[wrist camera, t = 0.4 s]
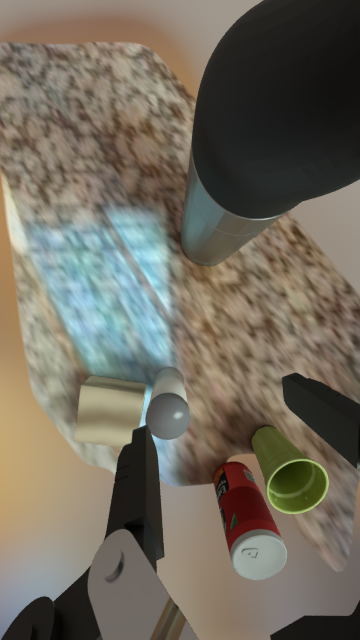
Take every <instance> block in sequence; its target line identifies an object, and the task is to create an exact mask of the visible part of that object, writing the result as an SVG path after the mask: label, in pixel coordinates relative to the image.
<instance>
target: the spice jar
mask: <svg viewBox="0 0 360 640" xmlns="http://www.w3.org/2000/svg"><path fill="white" fill-rule="evenodd" d="M189 423H190V415H189V408H188V405H187V399H186V391H185V384H184V378H183V375H182V374H181V372H180V371H178V370H177V369H175V368H164V369H162V370H160V371H159V372H158V373H157V375H156V377H155V381H154V385H153V390H152V394H151V399H150V403H149V406H148V409H147V413H146V425H148V427H149V430H150V432H151V434H153V435H154V436H155V437H157V438H160V439H165V440H170V439H174V438H177V437H179V436H181V435H182V434H183V433H184V432H185V431H186V430H187V428H188V426H189Z"/></svg>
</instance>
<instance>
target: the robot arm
mask: <svg viewBox="0 0 360 640" xmlns="http://www.w3.org/2000/svg"><path fill="white" fill-rule="evenodd" d="M359 179H360V0H264V1H262V2H260V3H259V4H257V5H256V6H254V7H253V8H251V9H250V10H249V11H248V12H246V13H245V14H244V15H243V16H242V17H240V18H239V19H238V20H237V21H236V22H235V23H234V24H233V25H232V26H231V28H230V29H229V30H228V31H227V32H226V33H225V35H224V36H223V38H222V39H221V40H220V42H219V43H218V45H217V47H216V48H215V50H214V52H213V53H212V56H211V58H210V59H209V62H208V64H207V66H206V69H205V71H204V74H203V77H202V80H201V84H200V88H199V91H198V97H197V102H196V108H195V115H194V124H193V132H192V141H191V150H190V158H189V167H188V176H187V184H186V192H185V201H184V209H183V217H182V224H181V233H180V242H181V246H182V249H183V251H184V253H185V254H186V256H187V257H188V258H189V259H190V260H191V261H192V262H194V263H196V264H198V265H201V266H214V265H216V264H219V263H221V262H222V261H224V260H225V259H226V258H228V257H229V256H231V255H232V254H233V253H235V252H236V251H237V250H238V249H240V248H241V247H242V246H244V245H245V244H246V243H248V242H249V241H250V240H252V239H253V238H254V237H256V236H257V235H258V234H260V233H261V232H262V231H263V230H265V229H266V228H267V227H269V226H270V225H271V224H273V223H274V222H275V221H276V220H278V219H279V218H280V217H282V216H283V215H284V214H286V213H287V212H288V211H290V210H291V209H292V208H294V207H295V206H297V205H298V204H299V203H301V202H302V201H305V200H309V199H312V198H316V197H319V196H323V195H325V194H329V193H331V192H334V191H336V190H339V189H341V188H343V187H345V186H348V185H350V184H352V183H353V182H355V181H357V180H359ZM282 385H283V396H284V401H285V403H286V405H287V406H288V408H289V409H290V410H291V411H292V412H293V413H294V414H296V415H297V416H298V417H299V418H300V419H301V420H302V421H303V422H305V423H306V424H307V425H308V426H309V427H310V428H311V429H312V430H314V431H315V432H316V433H317V434H318V435H319V436H320V437H321V438H323V439H324V440H325V441H326V442H327V443H328V444H329V445H330V446H332V447H333V448H334V449H335V450H336V451H337V452H338V453H339V454H341V455H342V456H343V457H344V458H345V459H346V460H347V461H348V462H350V463H351V464H352V465H353V466H354V467H355V468H356V469H359V468H360V404H358V403H356V402H355V401H353V400H351V399H349V398H348V397H346V396H344V395H341V393H339V392H337V391H335V390H332V388H330V387H329V386H327V385H325V384H323V383H322V382H319V381H316V380H313V379H310V378H308V379H307V378H305V377H304V376H302V375H300V374H298V373H292V374H290V375H287V376H284V377H283V378H282ZM116 470H117V472H116V475H115V483H114V488H113V494H112V500H111V506H110V512H109V518H108V525H107V531H106V535H105V539H104V542H103V543H102V545H101V546H100V547H99V549H98V551H97V553H96V555H95V557H94V559H93V562H92V564H91V566H90V567H89V568H88V569H87V570H86V572H85V573H84V574H83V575H82V576H81V577H80V578H79V579H78V580H76V581H75V582H74V583H73V584H72V585H71V586H70V587H69V588H68V589H67V590H65V592H63V593H62V594H61V595H60V596H59V597H58V598H57V599H56V600H55V601H52V600H51V599H50V598H49V597H46V596H44V597H40V598H37V599H35V600H34V601H32V602H31V603H30V604H29V605H27V606H26V607H25V608H24V609H23V610H22V611H21V612H20V614H19V615H18V616H17V617H16V618H15V620H14V621H13V622H12V624H11V625H10V627H9V628H8V630H7V631H6V633H5V634H4V636H3V637H2V639H1V640H199V639H198V637H197V636H196V634H195V632H194V631H193V629H192V627H191V626H190V624H189V623H188V621H187V619H186V618H185V616H184V615H183V613H182V612H181V610H180V609H179V607H178V606H177V605H176V604H175V603H174V601H173V600H172V598H171V597H170V595H169V594H168V592H167V590H166V589H165V587H164V585H163V584H162V582H161V581H160V579H159V577H158V576H157V567H156V561H157V560H159V559H161V558H163V557H164V543H163V528H162V513H161V498H160V481H159V466H158V455H157V450H156V446H155V443H154V441H153V438H152V435H151V432H150V430H149V427H148V425H145V426H142V427H139V428H137V429H134V430H133V432H132V441H131V443H129V444H126V445H124V447H123V449H122V451H121V453H120V455H119V457H118V463H117V469H116ZM270 637H271V640H360V601H359V603H358V605H357V607H356V609H355V611H354V612H353V613H352V614H351V615H350V616H303V617H302V618H300V619H298V620H296V621H295V622H293V623H291V624H289V625H288V626H286V627H284V628H282V629H281V630H279V631H277V632H275V633H274V634H272V635H270Z"/></svg>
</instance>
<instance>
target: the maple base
mask: <svg viewBox="0 0 360 640" xmlns="http://www.w3.org/2000/svg"><path fill="white" fill-rule="evenodd" d="M146 386H147V383H140V382H133V381H126V380H120V379H113V378H106V377H99V376H92V375H91V376H90V377H89V378H88V379H87V380H86V381H85V382H84V383H83V384H82V385H81V390H80V398H79V407H78V415H77V423H76V432H75V440H74V442H82V443H91V444H99V445H107V446H115V447H124V445H126V444H129V443H131V441H132V432H133V430H134V429H137V428H139V427H140V422H141V416H142V410H143V404H144V398H145V392H146Z"/></svg>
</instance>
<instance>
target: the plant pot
mask: <svg viewBox="0 0 360 640" xmlns="http://www.w3.org/2000/svg"><path fill="white" fill-rule="evenodd" d="M252 446H253V449H254V452H255V454H256V457H257V460H258V462H259V465H260V468H261V470H262V473H263V476H264V479H265V484H266V493H267V497H268V500H269V502H270V503H271V504H272V506H273V507H274V508H276V509H277V510H279V511H281V512H284V513H288V514H298V513H302V512H305V511H308V510H310V509H312V508H314V507H315V506H316V505H317V504H319V503H320V502H321V500H322V499H323V498H324V496H325V495H326V492H327V489H328V484H329V480H328V475H327V473H326V471H325V470H324V468H323V467H322V466H321V465H320V464H319V463H317V462H316V461H314V460H312V459H310V458H309V457H307V456H306V455H304V454H303V453H302V452H301V451H300V450H299V449H298V448H297V447H295V446H294V445H293V444H292V443H291V442H290V441H289V440H288V439H287V438H286V437H285V436H284V435H283V434H282V433H281V432H280V431H279V430H277V429H275V428H273V427H271V426H266V427H262V428H260V429H258V430H257V431H256V433H255V435H254V436H253V437H252Z"/></svg>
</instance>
